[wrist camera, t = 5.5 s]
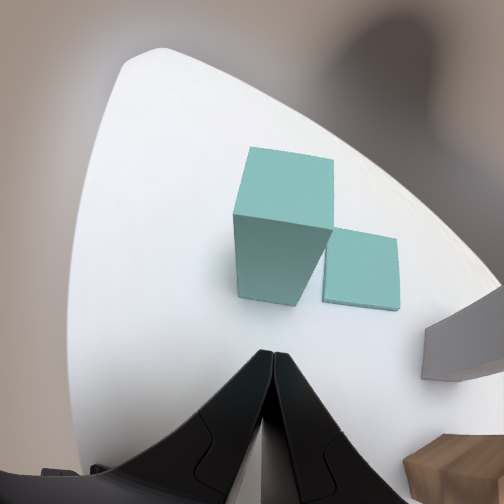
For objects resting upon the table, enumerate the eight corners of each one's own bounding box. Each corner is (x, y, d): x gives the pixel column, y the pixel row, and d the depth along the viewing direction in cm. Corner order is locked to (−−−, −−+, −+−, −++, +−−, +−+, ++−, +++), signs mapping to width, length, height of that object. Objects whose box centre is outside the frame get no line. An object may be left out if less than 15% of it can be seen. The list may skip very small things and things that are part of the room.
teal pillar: (295, 306, 20) (333, 229, 11) (238, 297, 20) (232, 213, 11) (301, 255, 22) (333, 159, 13) (248, 247, 22) (250, 146, 13)
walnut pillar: (451, 471, 13) (541, 482, 4) (411, 498, 13) (498, 530, 4) (443, 433, 15) (541, 431, 6) (402, 459, 15) (498, 480, 6)
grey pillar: (458, 381, 17) (553, 355, 8) (420, 379, 17) (519, 352, 8) (461, 334, 19) (548, 289, 10) (425, 328, 19) (514, 276, 10)
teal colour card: (396, 311, 20) (400, 308, 19) (322, 301, 20) (324, 298, 20) (393, 242, 23) (396, 238, 22) (326, 230, 23) (328, 226, 22)
